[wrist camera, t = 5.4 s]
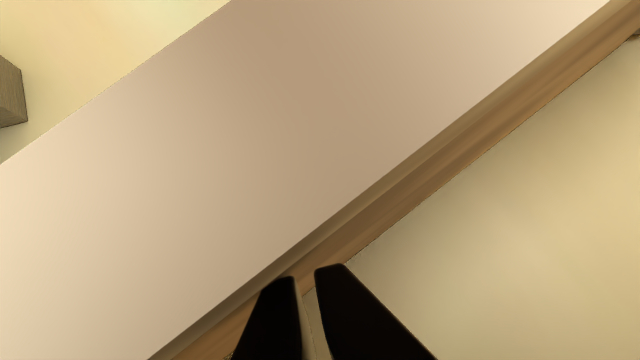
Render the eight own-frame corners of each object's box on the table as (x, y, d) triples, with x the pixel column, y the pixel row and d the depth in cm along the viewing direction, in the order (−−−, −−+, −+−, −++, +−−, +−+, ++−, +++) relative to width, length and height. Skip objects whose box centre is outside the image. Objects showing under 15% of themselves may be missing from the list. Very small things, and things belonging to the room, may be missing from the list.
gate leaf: (630, -45, 16) (1098, -617, 6) (683, 6, 15) (1277, -518, 6) (53, 398, 14) (-649, 625, 4) (96, 468, 13) (-563, 909, 4)
